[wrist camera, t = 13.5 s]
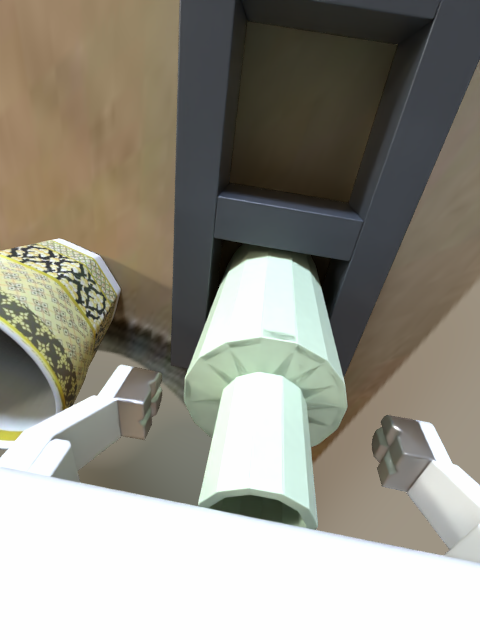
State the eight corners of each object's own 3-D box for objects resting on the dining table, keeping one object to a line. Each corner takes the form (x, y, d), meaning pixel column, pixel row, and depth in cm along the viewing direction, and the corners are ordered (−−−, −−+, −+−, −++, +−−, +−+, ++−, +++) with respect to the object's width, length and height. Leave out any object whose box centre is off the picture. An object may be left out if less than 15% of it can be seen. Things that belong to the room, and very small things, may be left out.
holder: (465, -11, 13) (530, -59, 10) (328, 356, 23) (336, 395, 20) (207, -51, 13) (181, -111, 10) (186, 331, 24) (170, 365, 20)
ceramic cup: (160, 254, 21) (76, 344, 12) (126, 359, 26) (51, 473, 17) (-43, 161, 19) (-306, 191, 10) (-35, 293, 24) (-206, 385, 16)
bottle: (327, 243, 19) (420, 480, 6) (303, 322, 22) (334, 588, 9) (232, 226, 19) (139, 427, 6) (222, 308, 22) (145, 551, 10)
